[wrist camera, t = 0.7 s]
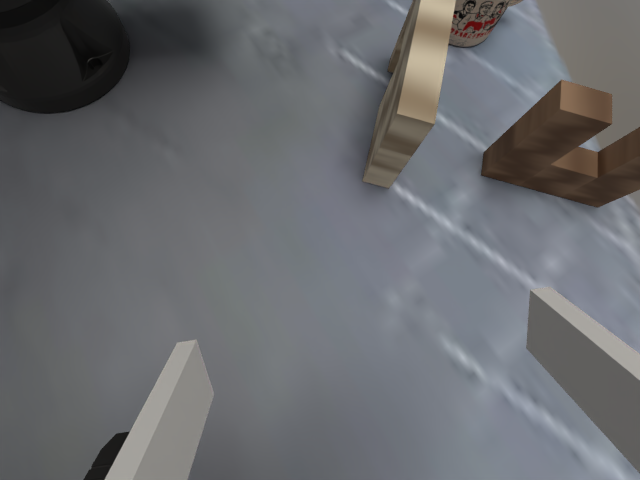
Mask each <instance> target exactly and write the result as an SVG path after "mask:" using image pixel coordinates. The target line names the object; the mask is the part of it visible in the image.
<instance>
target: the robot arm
mask: <svg viewBox="0 0 640 480" xmlns="http://www.w3.org/2000/svg"><path fill="white" fill-rule="evenodd" d="M129 52H130V47H129V40H128V37H127V34H126V32H125V30H124V28H123V25H122V23H121V21H120V19H119V17H118V16H117V14H116V12H115V11H114V9H113V8H112V6H111V5H110V4H109V3H108V2H107V1H106V0H0V100H1V101H3V102H5V103H7V104H9V105H11V106H13V107H16V108H19V109H22V110H26V111H32V112H43V113H51V112H62V111H67V110H72V109H75V108H79V107H81V106H84V105H86V104H89V103H91V102H93V101H95V100H96V99H98V98H100V97H101V96H103V95H104V94H105V93H107V92H108V91H109V90H110V89H111V88H112V87H113V86H114V85H115V84H116V83H117V82H118V81H119V79H120V78H121V76H122V75H123V73H124V71H125V69H126V66H127V63H128V60H129ZM526 348H527V349H528V351H529V352H530V353H531V354H532V355H533V356H534V357H535V358H536V359H537V360H538V362H539V363H540V364H541V365H542V366H543V367H544V368H545V369H546V370H547V372H548V373H549V374H550V375H551V376H552V377H553V378H554V379H555V380H556V381H557V383H558V384H559V385H560V386H561V387H562V388H563V389H564V390H565V391H566V393H567V394H568V395H569V396H570V397H571V398H572V399H573V400H574V401H575V402H576V404H577V405H578V406H579V407H580V408H581V409H582V410H583V411H584V412H585V413H586V415H587V416H588V417H589V418H590V419H591V420H592V421H593V422H594V423H595V425H596V426H597V427H598V428H599V429H600V430H601V431H602V432H603V433H604V434H605V436H606V437H607V438H608V439H609V440H610V441H611V442H612V443H613V444H614V446H615V447H616V448H617V449H618V450H619V451H620V452H621V453H622V454H623V455H624V457H625V458H626V459H627V460H628V461H629V462H630V463H631V464H632V465H633V467H634V468H635V469H636V470H637V471H638V472H639V473H640V354H639V353H638V352H636V351H635V350H634V349H632V348H631V347H630V346H628V345H627V344H626V343H624V342H623V341H622V340H620V339H619V338H618V337H616V336H615V335H614V334H612V333H611V332H610V331H608V330H607V329H606V328H604V327H603V326H602V325H600V324H599V323H598V322H596V321H595V320H594V319H592V318H591V317H590V316H588V315H587V314H586V313H584V312H583V311H582V310H580V309H579V308H578V307H576V306H575V305H574V304H572V303H571V302H570V301H568V300H567V299H566V298H564V297H563V296H562V295H560V294H559V293H558V292H556V291H555V290H554V289H552V288H551V287H546V288H539V289H532V290H530V301H529V316H528V330H527V345H526ZM213 396H214V392H213V389H212V386H211V383H210V380H209V377H208V374H207V370H206V367H205V364H204V361H203V358H202V355H201V352H200V349H199V346H198V343H197V340H191V341H185V342H178V343H177V344H176V346H175V348H174V350H173V352H172V354H171V356H170V357H169V359H168V361H167V363H166V365H165V367H164V369H163V371H162V372H161V374H160V376H159V378H158V380H157V382H156V384H155V386H154V388H153V389H152V391H151V393H150V395H149V397H148V399H147V401H146V403H145V404H144V406H143V408H142V410H141V412H140V414H139V416H138V418H137V420H136V421H135V423H134V425H133V427H132V429H131V431H130V432H125V433H118V434H116V435H115V436H114V437H113V438H112V439H111V440H110V441H109V442H108V443H107V444H106V445H105V446H104V447H103V448H102V449H101V451H100V453H99V454H98V456H97V458H96V459H95V461H94V463H93V464H92V466H91V467H92V468H91V470H89V471H88V473H87V475H86V476H85V478H84V480H188V477H189V473H190V470H191V467H192V464H193V460H194V457H195V454H196V451H197V448H198V444H199V441H200V438H201V435H202V432H203V428H204V425H205V422H206V419H207V415H208V412H209V409H210V406H211V403H212V399H213Z"/></svg>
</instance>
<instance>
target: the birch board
mask: <svg viewBox="0 0 640 480" xmlns="http://www.w3.org/2000/svg"><path fill="white" fill-rule="evenodd" d="M455 2H456V0H413V2H412V4H411V7H410V9H409V12H408V15H407V17H406V20H405V22H404V25H403V27H402V30H401V32H400V35H399V38H398V40H397V43H396V45H395V48H394V50H393V53H392V56H391V58H390V62H389V67H388V71H389V72H392V73H393V75H392V77H391V80H390V82H389V84H388V87H387V89H386V92H385V94H384V96H383V99H382V101H381V103H380V106H379V110H378V115H377V119H376V124H375V128H374V132H373V137H372V141H371V145H370V150H369V154H368V159H367V163H366V167H365V172H364V176H363V180H362V181H363V182H367V183H371V184H374V185H378V186H382V187H385V188H390V186H391V185H392V184H393V182H394V181H395V179H396V178H397V177H398V175H399V174H400V172H401V171H402V169H403V168H404V167H405V165H406V164H407V162H408V161H409V160H410V158H411V157H412V155H413V154H414V152H415V151H416V150H417V148H418V147H419V145H420V144H421V143H422V141H423V140H424V138H425V137H426V136H427V134H428V133H429V131H430V130H431V128H432V127H433V126H434V124H435V119H436V113H437V107H438V101H439V96H440V90H441V84H442V78H443V72H444V66H445V61H446V55H447V49H448V43H449V37H450V31H451V26H452V20H453V14H454V8H455Z"/></svg>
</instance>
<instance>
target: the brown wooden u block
mask: <svg viewBox="0 0 640 480" xmlns="http://www.w3.org/2000/svg"><path fill="white" fill-rule="evenodd" d="M611 124H612V94H609V93H606V92H602V91H599V90H595V89H592V88H589V87H585V86H581V85H578V84H575V83H571V82H568V81H564V80H561V81H560V82H559V83H557V84H556V85H555V86H554V87H553V88H552V89H551V90H550V91H549V92H548V93H547V94H546V95H545V96H544V97H542V98H541V99H540V100H539V101H538V102H537V103H536V104H535V105H534V106H533V107H532V108H531V109H530V110H529V111H528V112H526V113H525V114H524V115H523V116H522V117H521V118H520V119H519V120H518V121H517V122H516V123H515V124H514V125H513V126H511V127H510V128H509V129H508V130H507V131H506V132H505V133H504V134H503V135H502V136H501V137H500V138H499V139H498V140H497V141H495V142H494V143H493V144H492V145H491V146H490V147H489V148H488V149H487V150H486V151H485V152H484V156H483V164H482V172H481V175H483V176H486V177H490V178H493V179H497V180H501V181H504V182H508V183H511V184H515V185H519V186H522V187H526V188H529V189H533V190H537V191H540V192H544V193H547V194H551V195H555V196H558V197H562V198H565V199H569V200H573V201H576V202H580V203H583V204H587V205H591V206H594V207H600V206H602V205H605V204H607V203H609V202H612V201H614V200H616V199H619V198H621V197H623V196H626V195H628V194H630V193H633V192H635V191H637V190H639V189H640V127H639V128H638V129H636V130H634V131H632V132H631V133H629V134H627V135H626V136H624V137H623V138H621V139H619V140H617V141H616V142H614V143H613V144H611V145H609V146H607V147H606V148H604V149H602V150H601V151H599V152H595V151H592V150H588V149H584V148H581V147H578V146H580V145H581V144H583V143H584V142H586V141H587V140H589V139H590V138H592V137H593V136H595V135H596V134H598V133H599V132H601V131H602V130H604V129H605V128H607V127H608V126H610V125H611Z"/></svg>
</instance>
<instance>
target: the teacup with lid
mask: <svg viewBox="0 0 640 480" xmlns="http://www.w3.org/2000/svg"><path fill="white" fill-rule="evenodd" d="M521 1H523V0H456V2H455V8H454V14H453V20H452V26H451V31H450V37H449V44H452V45H455V46H460V47H469V46H474V45H477V44H479V43H481V42H483V41H484V40H485V39H486V38H487V37H488V35H489V34H490V33H491V31H492V30H493V28H494V27H495V25H496V24H497V22H498V21H499V19H500V18H501V16H502V15H503V13H504V12H505V10H506V9H507V8H508V7H510V6H513V5H516V4H518V3H520V2H521Z"/></svg>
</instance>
